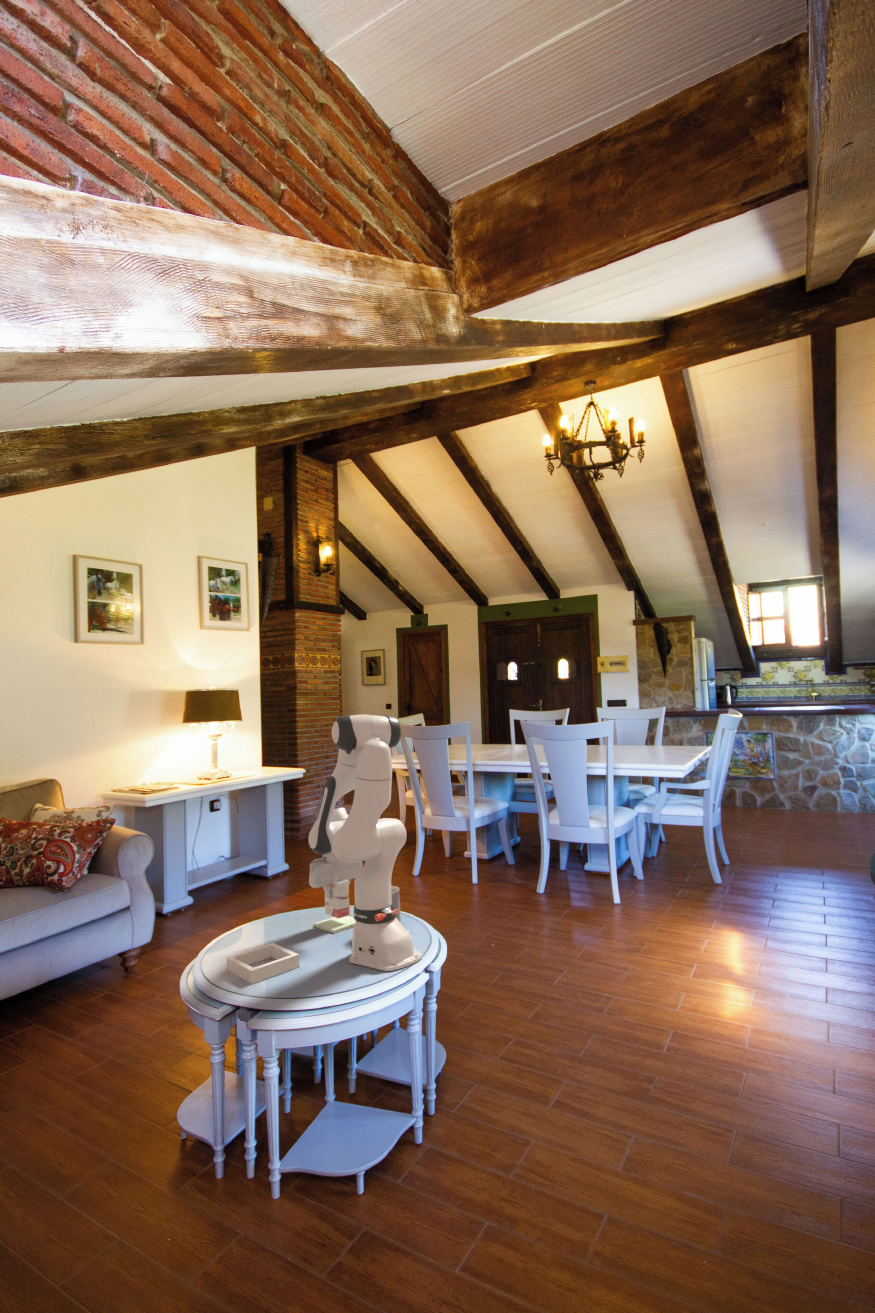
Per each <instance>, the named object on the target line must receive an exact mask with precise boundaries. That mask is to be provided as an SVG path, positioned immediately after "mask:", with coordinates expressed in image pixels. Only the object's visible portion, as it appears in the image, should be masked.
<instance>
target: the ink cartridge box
mask: <svg viewBox="0 0 875 1313" xmlns="http://www.w3.org/2000/svg"><path fill="white" fill-rule="evenodd" d="M337 877H338V875H337V874H336V873H334V883H333V884H330V888H328V889H329V891H330V892H332V897H331V898H327V897H326V892H325V891H324V912H325V913H324V914H325V915H329V916H332V917H336V918H341V917H345V916H351V915H350V911H351V910H350V909H351V908H350V890H349V889H350V888H349V887H350V884H349V882H348V880H340V881H337Z"/></svg>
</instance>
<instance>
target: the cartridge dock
mask: <svg viewBox="0 0 875 1313" xmlns="http://www.w3.org/2000/svg"><path fill="white" fill-rule="evenodd" d="M267 959H274V960H273V961H270V962H267V963H264V964H262V965H261V964H260V965H258V966H255V967H252V966H251V965H252V964H256V963H258V962H262V961H265V960H267ZM225 960H226V971H228V972H229V973H231V974H233V975H234V976H236V977H237V978H240V979H242V980H243V981H245V982H247V983H249V984H251V985H254V984H256V983H258V982H261V981H264V980H267V979H270V978H272V977H275V976H278V975H281V974H283V973H286V972H290V971H292V970H295V969H297V968H300V954H299V953H297V952H294V951H292V950H289V949H288V948H285V947H283V946H281V945H278V944H276V943H274V942H271V943H268V944H266V945H261V946H259V947H255V948H253V949H249V950H247V951H243V952H240V953H237V954H234V955H231V956H228V957H226V959H225Z"/></svg>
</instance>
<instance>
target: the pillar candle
mask: <svg viewBox="0 0 875 1313" xmlns="http://www.w3.org/2000/svg"><path fill="white" fill-rule="evenodd" d="M400 895H401V894H400V887H399V886H395V885H391V898H392V903H393V905H394V908H395V910H396V909H398V910H397V911H395V912H398V913H396V918H397V919H398V921H399V922H400V923H401V924H402V921H401V899H400V898H401V896H400Z"/></svg>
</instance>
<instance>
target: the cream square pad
mask: <svg viewBox="0 0 875 1313" xmlns="http://www.w3.org/2000/svg"><path fill="white" fill-rule="evenodd" d="M354 926H355V919H354V917H353V916H350V915H348V916H345V917H341V918H336V917H333V916H332V917H330V918H326V919H323V920H321V921H317V922H314V923H313V927H314V928H318V929H321V930H323V931H325V932H328V933H331V934H333V935H335V934H337V933H340V932H344V931H346V930H349V929H352V928H353V929H354Z"/></svg>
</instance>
